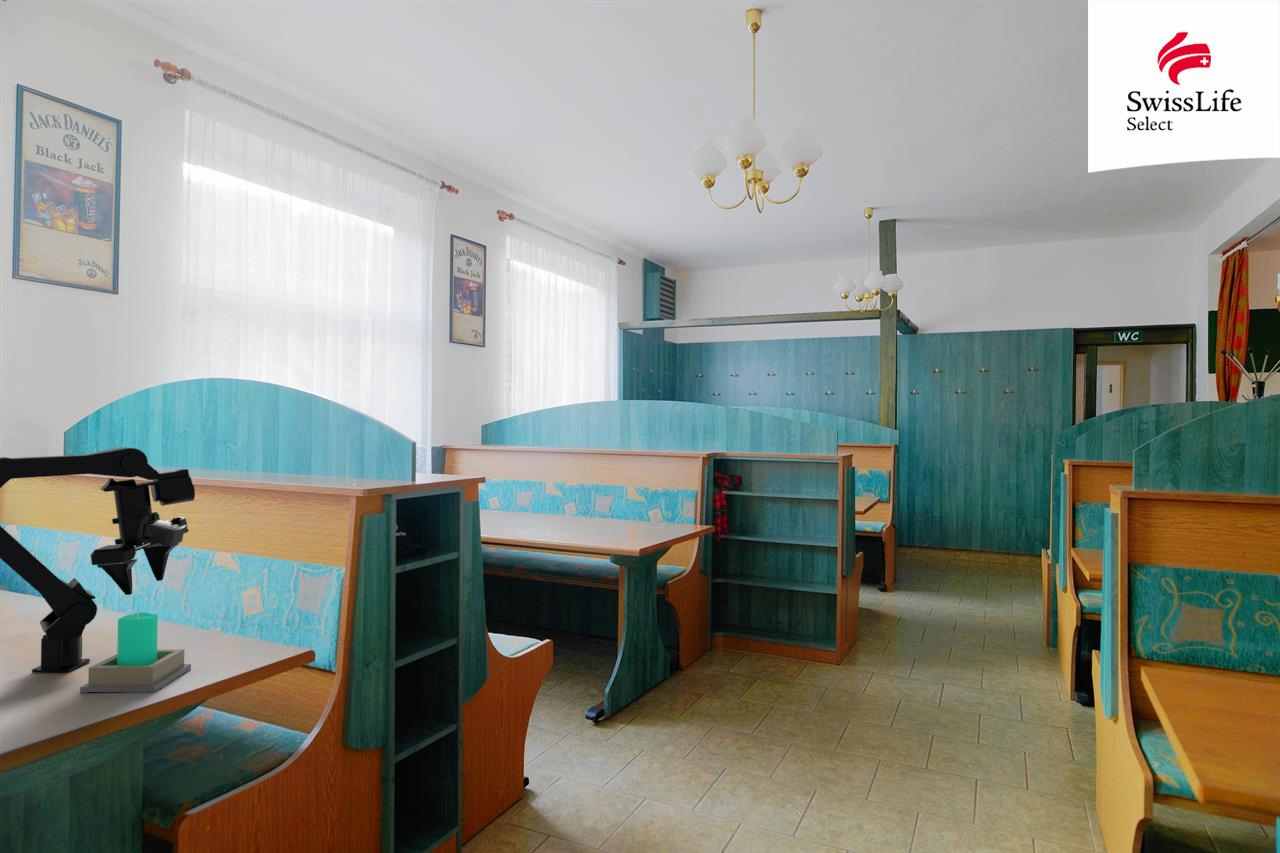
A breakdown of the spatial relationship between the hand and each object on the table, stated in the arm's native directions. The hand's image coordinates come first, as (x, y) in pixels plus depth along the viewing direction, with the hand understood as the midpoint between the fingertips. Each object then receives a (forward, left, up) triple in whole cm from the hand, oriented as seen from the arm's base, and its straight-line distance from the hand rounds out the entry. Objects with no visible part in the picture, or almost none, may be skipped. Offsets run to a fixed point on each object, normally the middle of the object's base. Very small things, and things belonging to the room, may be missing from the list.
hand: (144, 587), depth 147 cm
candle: (-16, -8, -12) cm, 22 cm away
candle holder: (-16, -8, -13) cm, 22 cm away
